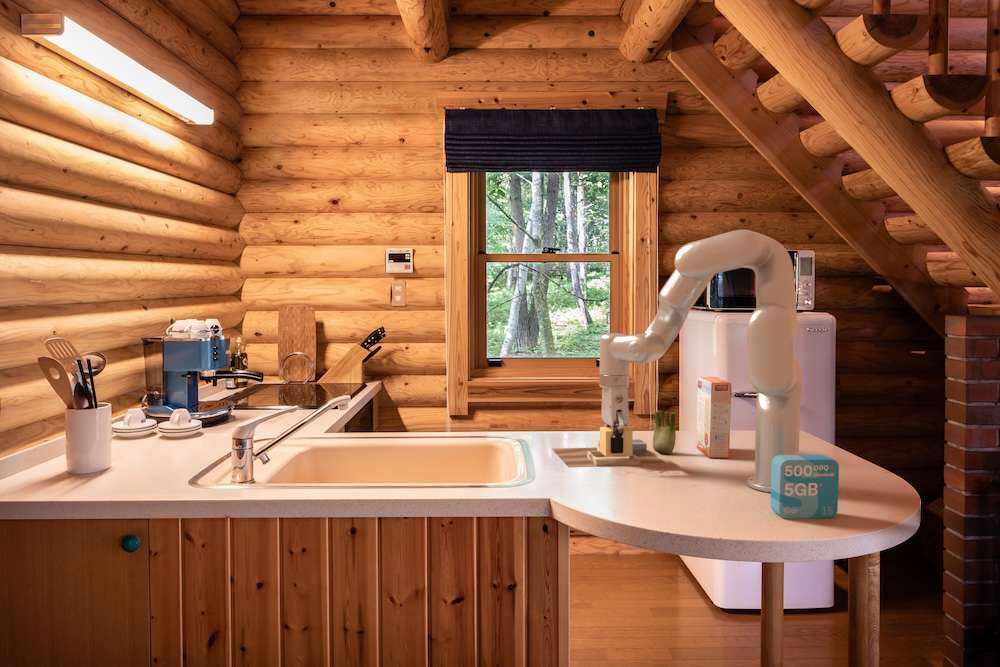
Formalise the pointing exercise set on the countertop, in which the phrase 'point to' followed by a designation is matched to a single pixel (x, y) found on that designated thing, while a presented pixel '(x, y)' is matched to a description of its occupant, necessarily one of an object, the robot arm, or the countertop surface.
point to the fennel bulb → (664, 433)
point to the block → (606, 442)
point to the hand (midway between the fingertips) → (613, 449)
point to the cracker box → (714, 417)
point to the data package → (804, 486)
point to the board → (597, 459)
